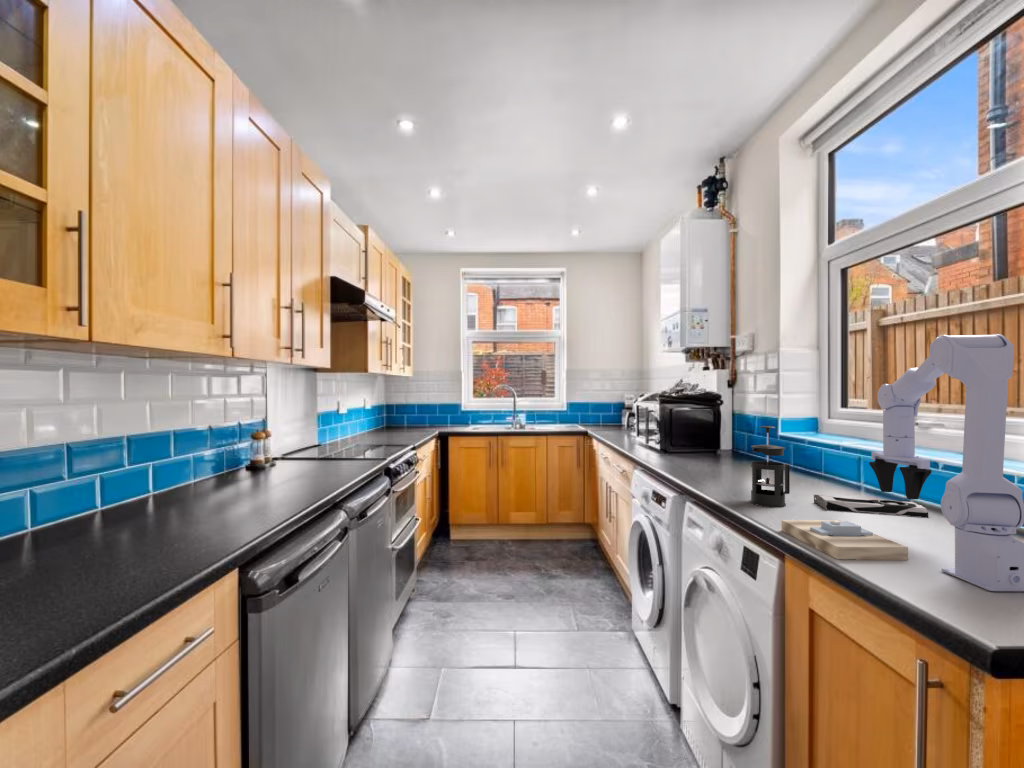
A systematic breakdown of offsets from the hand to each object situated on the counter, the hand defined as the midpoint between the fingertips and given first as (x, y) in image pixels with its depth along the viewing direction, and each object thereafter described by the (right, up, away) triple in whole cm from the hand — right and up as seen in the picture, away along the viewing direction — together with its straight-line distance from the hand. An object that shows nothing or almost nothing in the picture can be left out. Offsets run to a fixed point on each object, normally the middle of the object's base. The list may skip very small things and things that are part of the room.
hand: (898, 495), depth 112 cm
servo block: (-18, -9, -6) cm, 21 cm away
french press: (-13, -10, +32) cm, 36 cm away
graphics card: (+11, -11, +25) cm, 29 cm away
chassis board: (-18, -9, -6) cm, 21 cm away
